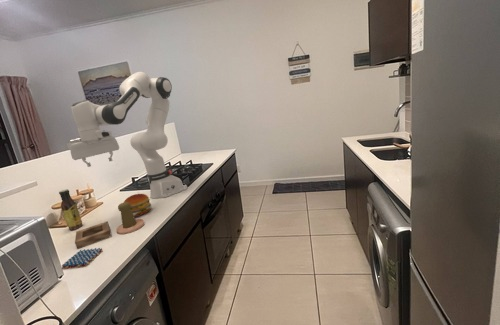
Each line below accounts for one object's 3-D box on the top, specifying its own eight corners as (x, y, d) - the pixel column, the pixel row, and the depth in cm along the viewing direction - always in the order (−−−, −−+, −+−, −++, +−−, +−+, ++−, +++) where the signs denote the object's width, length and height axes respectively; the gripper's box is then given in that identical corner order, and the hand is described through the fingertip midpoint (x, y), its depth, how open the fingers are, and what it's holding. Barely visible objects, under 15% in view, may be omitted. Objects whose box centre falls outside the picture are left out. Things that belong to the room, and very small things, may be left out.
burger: (148, 216, 131) (142, 197, 128) (121, 221, 130) (115, 202, 128) (155, 205, 144) (150, 188, 141) (131, 210, 144) (126, 193, 141)
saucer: (142, 218, 129) (141, 216, 128) (146, 226, 119) (145, 224, 118) (115, 227, 123) (115, 225, 123) (118, 237, 113) (117, 234, 113)
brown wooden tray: (109, 226, 126) (107, 221, 125) (111, 236, 115) (109, 230, 114) (78, 237, 119) (76, 231, 119) (77, 248, 108) (74, 242, 108)
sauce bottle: (79, 228, 129) (66, 191, 124) (66, 231, 128) (52, 194, 124) (85, 223, 135) (73, 187, 131) (73, 225, 135) (59, 190, 130)
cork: (121, 229, 117) (114, 207, 114) (124, 223, 123) (118, 202, 120) (135, 226, 118) (128, 204, 115) (138, 220, 124) (131, 199, 121)
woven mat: (60, 271, 95) (58, 266, 94) (80, 253, 105) (79, 249, 104) (86, 268, 94) (85, 263, 93) (104, 251, 104) (103, 246, 103)
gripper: (64, 141, 115) (75, 171, 119) (114, 131, 125) (123, 158, 129) (65, 140, 121) (75, 168, 124) (113, 130, 130) (121, 157, 134)
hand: (100, 163), depth 127 cm, fingers open, 8 cm apart
